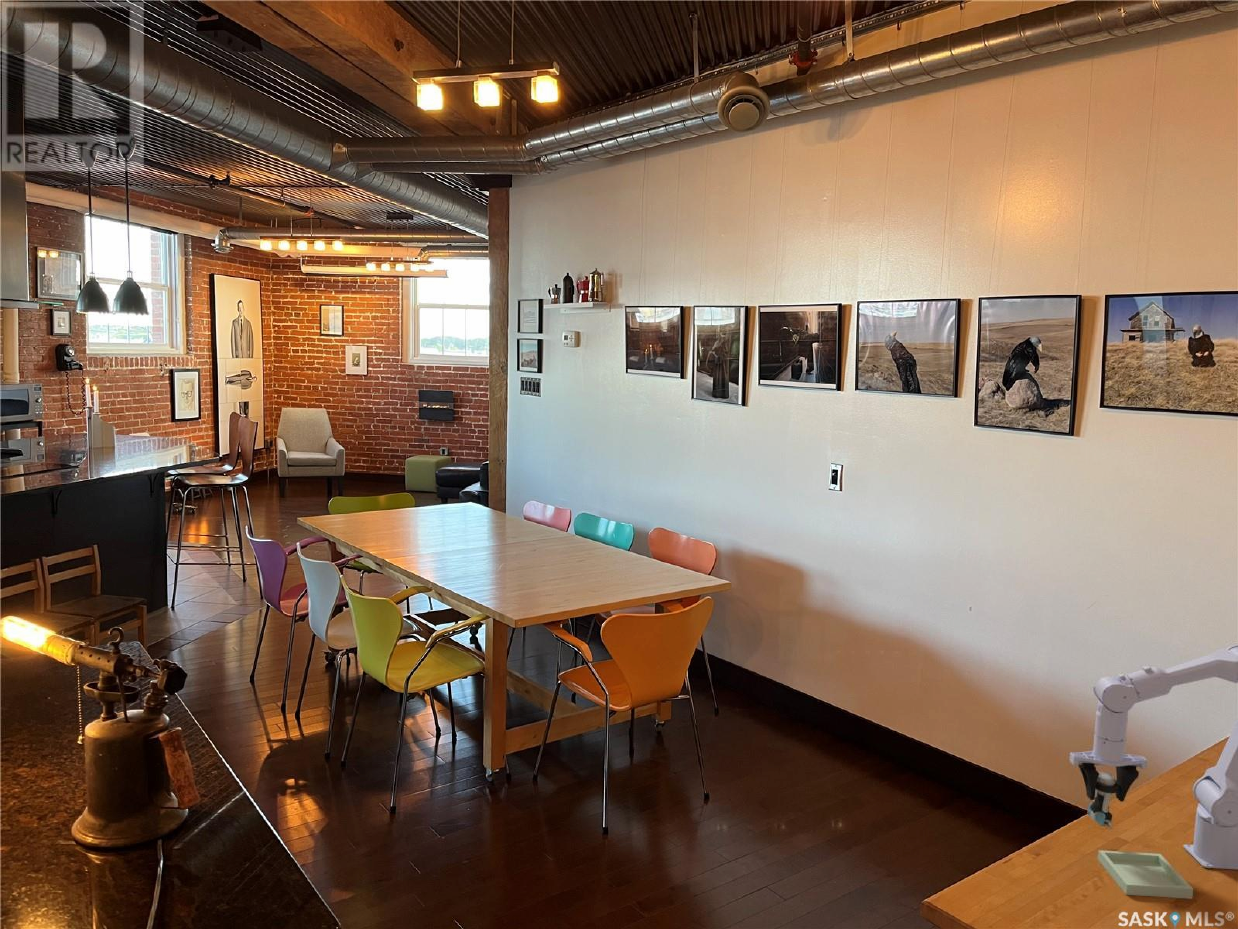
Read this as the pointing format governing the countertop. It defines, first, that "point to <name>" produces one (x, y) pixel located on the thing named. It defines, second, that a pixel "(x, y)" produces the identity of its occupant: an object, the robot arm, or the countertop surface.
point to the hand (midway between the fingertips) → (1105, 798)
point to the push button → (1103, 799)
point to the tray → (1144, 874)
